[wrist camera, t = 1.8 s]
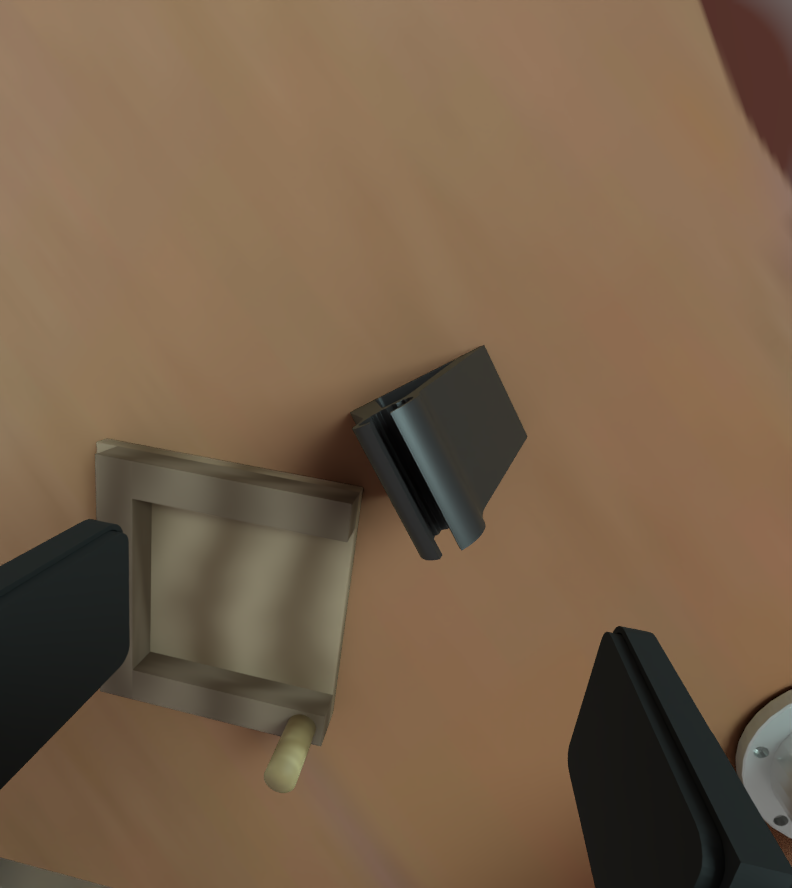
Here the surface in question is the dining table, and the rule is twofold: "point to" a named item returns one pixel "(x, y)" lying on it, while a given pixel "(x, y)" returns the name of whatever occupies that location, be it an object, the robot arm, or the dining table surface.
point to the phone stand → (442, 448)
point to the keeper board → (232, 591)
